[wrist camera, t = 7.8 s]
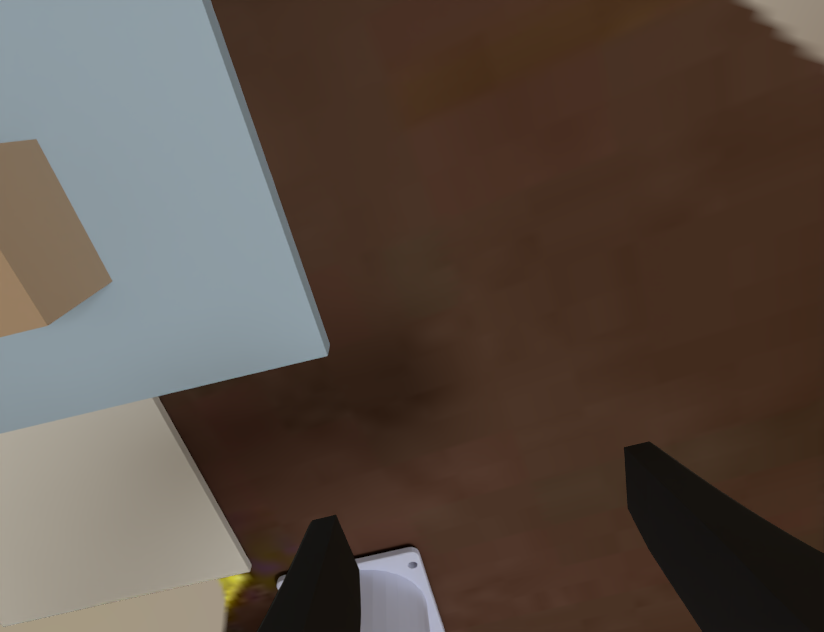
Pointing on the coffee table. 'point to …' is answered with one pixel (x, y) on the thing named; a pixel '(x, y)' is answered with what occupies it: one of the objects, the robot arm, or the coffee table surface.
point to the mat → (105, 514)
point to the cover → (134, 213)
